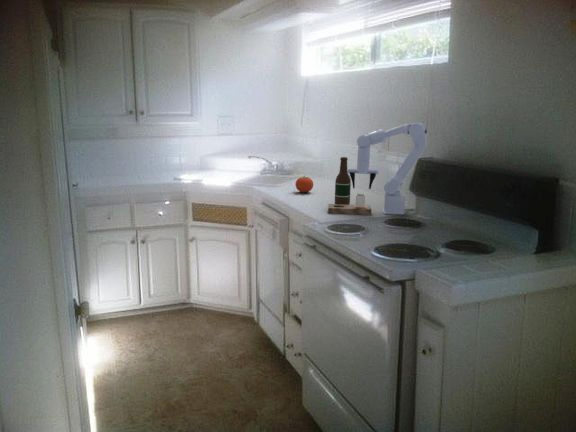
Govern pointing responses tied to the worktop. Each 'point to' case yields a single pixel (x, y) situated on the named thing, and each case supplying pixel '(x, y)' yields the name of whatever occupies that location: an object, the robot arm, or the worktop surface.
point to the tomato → (304, 184)
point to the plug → (360, 200)
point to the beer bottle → (343, 184)
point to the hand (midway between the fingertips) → (361, 188)
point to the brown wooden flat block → (348, 209)
